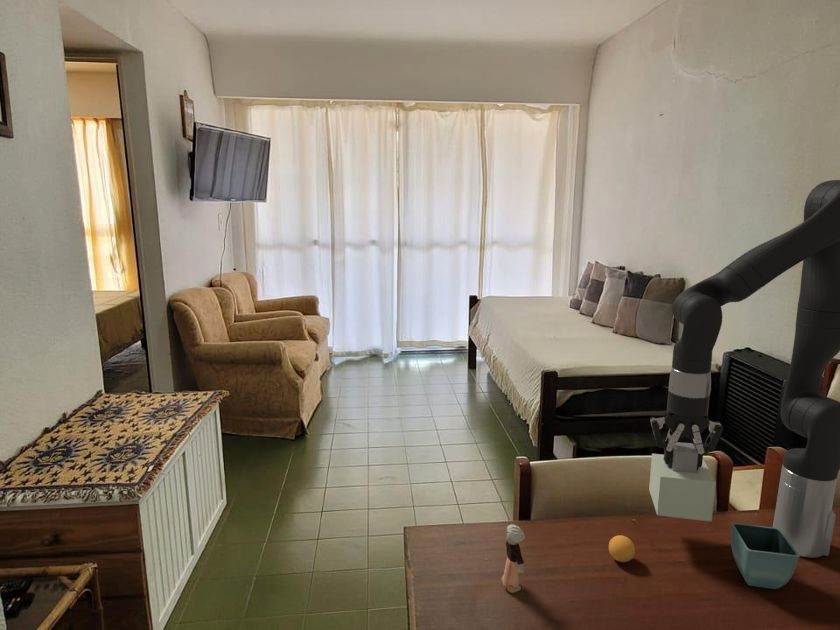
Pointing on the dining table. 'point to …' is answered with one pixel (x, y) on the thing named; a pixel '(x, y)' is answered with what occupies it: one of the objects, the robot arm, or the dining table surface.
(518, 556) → the grandmother figurine
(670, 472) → the pale green cube
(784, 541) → the flower pot
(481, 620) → the dining table surface
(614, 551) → the ball
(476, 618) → the dining table surface
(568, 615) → the dining table surface
